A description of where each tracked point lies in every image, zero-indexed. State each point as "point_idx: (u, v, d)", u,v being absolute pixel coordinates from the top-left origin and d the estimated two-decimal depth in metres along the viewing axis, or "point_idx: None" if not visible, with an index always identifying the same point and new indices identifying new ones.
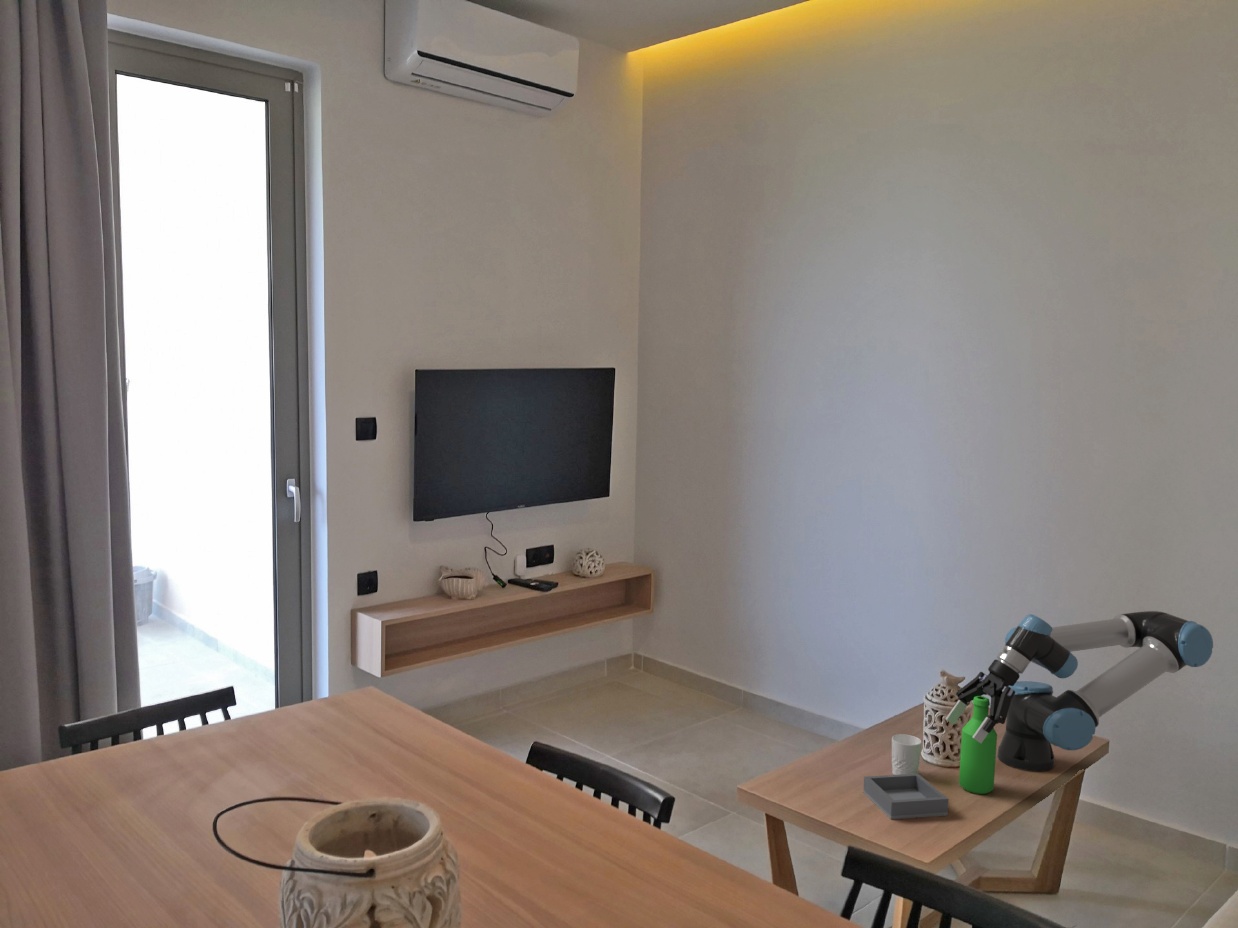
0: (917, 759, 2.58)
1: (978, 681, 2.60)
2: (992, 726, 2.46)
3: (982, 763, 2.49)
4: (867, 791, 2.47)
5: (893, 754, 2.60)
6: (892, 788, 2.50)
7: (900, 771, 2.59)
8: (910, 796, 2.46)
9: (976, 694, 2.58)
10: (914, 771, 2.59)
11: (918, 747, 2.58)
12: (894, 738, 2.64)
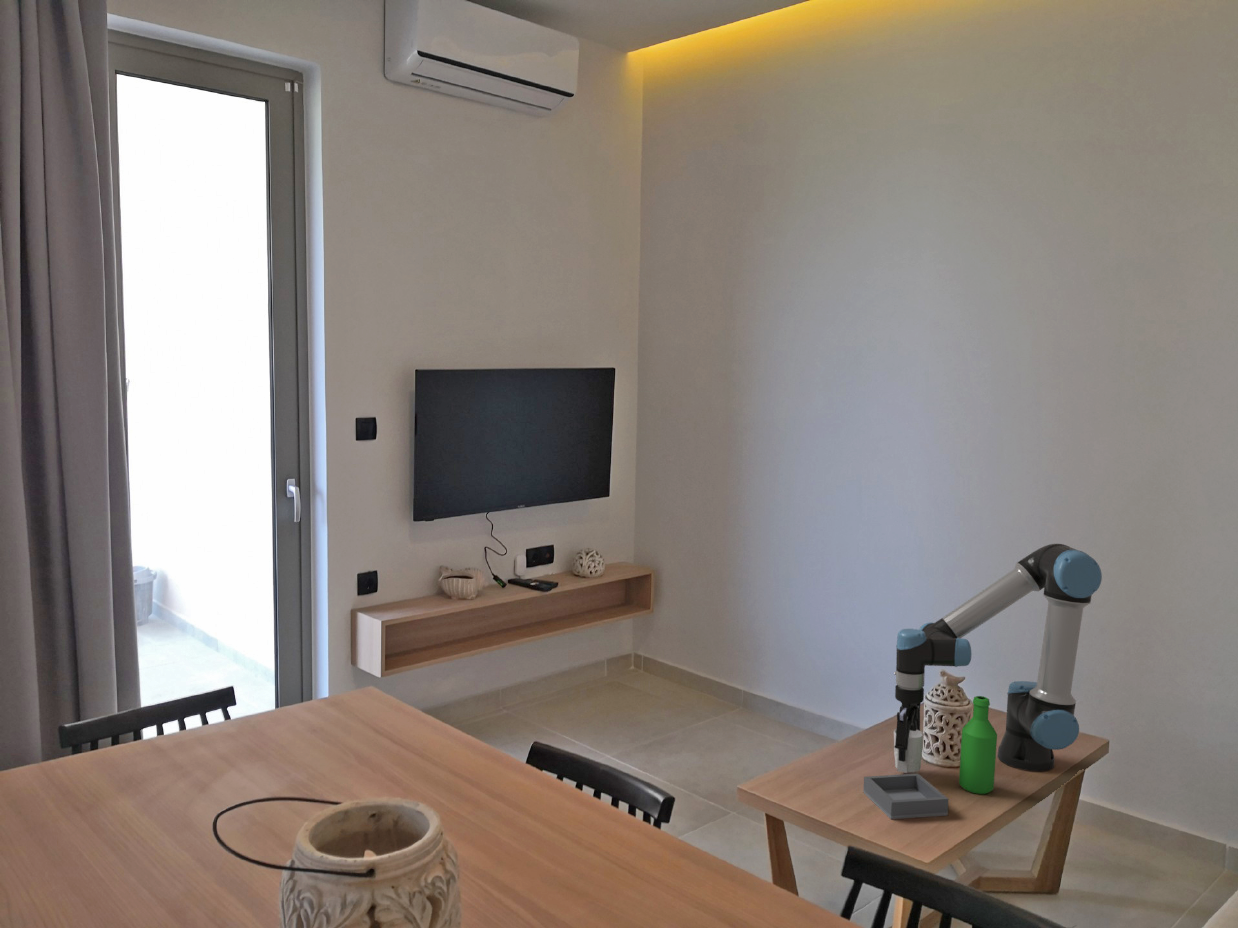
0: (919, 752, 2.58)
1: None
2: (902, 754, 2.56)
3: (982, 763, 2.49)
4: (867, 791, 2.47)
5: None
6: (892, 788, 2.50)
7: None
8: (910, 796, 2.46)
9: (911, 723, 2.63)
10: (917, 764, 2.58)
11: (920, 740, 2.58)
12: None
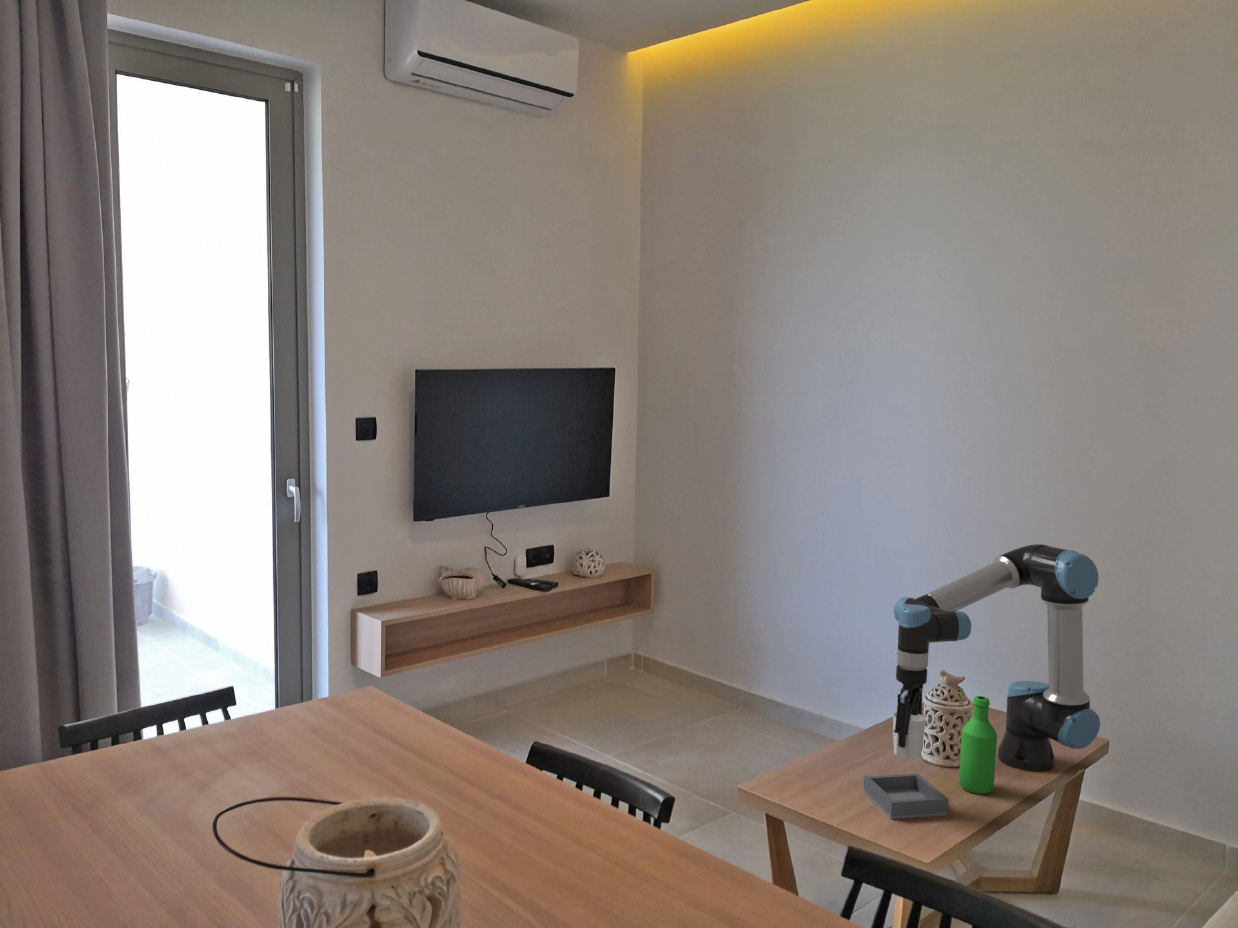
0: (921, 737, 2.39)
1: None
2: (902, 740, 2.37)
3: (982, 763, 2.49)
4: (867, 791, 2.47)
5: None
6: (892, 788, 2.50)
7: None
8: (910, 796, 2.46)
9: (913, 707, 2.43)
10: (917, 750, 2.39)
11: (922, 724, 2.38)
12: None
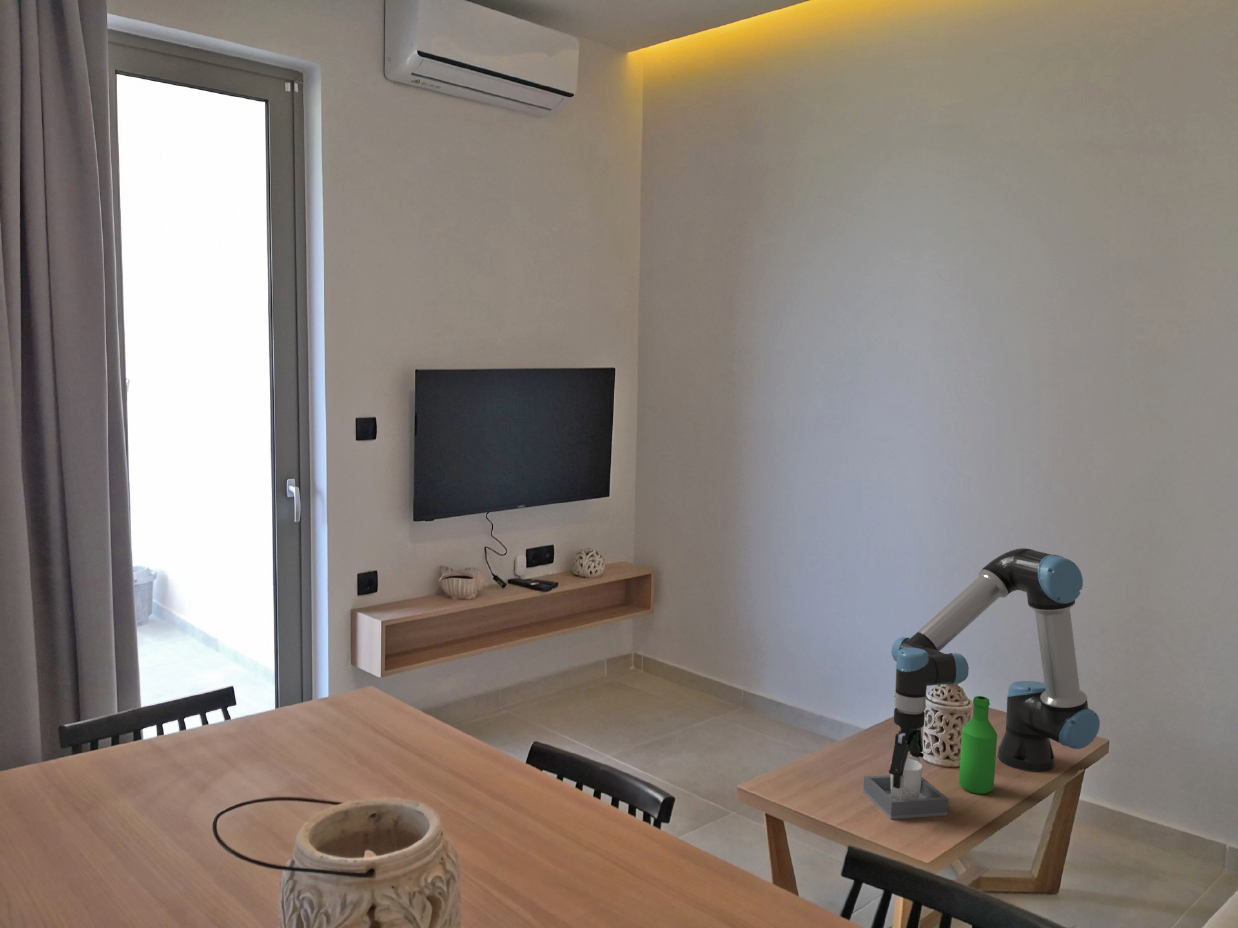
0: (918, 786, 2.39)
1: None
2: (897, 780, 2.36)
3: (982, 763, 2.49)
4: (867, 791, 2.47)
5: None
6: None
7: None
8: None
9: (912, 745, 2.46)
10: (915, 798, 2.40)
11: (919, 773, 2.39)
12: None
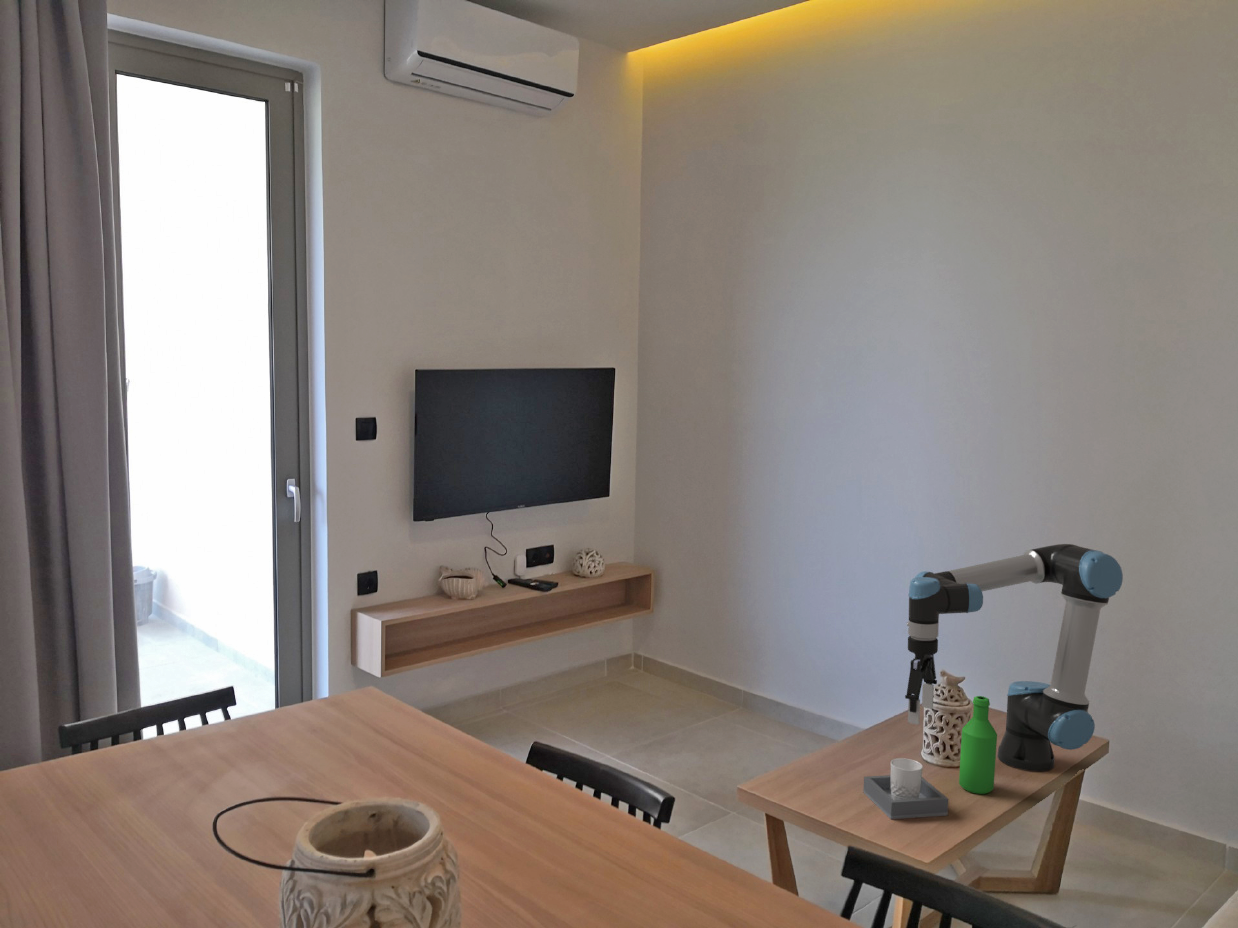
0: (918, 785, 2.39)
1: None
2: (913, 705, 2.42)
3: (982, 763, 2.49)
4: (867, 791, 2.47)
5: (892, 780, 2.41)
6: None
7: (899, 798, 2.40)
8: None
9: (926, 672, 2.52)
10: (915, 798, 2.40)
11: (919, 773, 2.39)
12: (893, 762, 2.44)
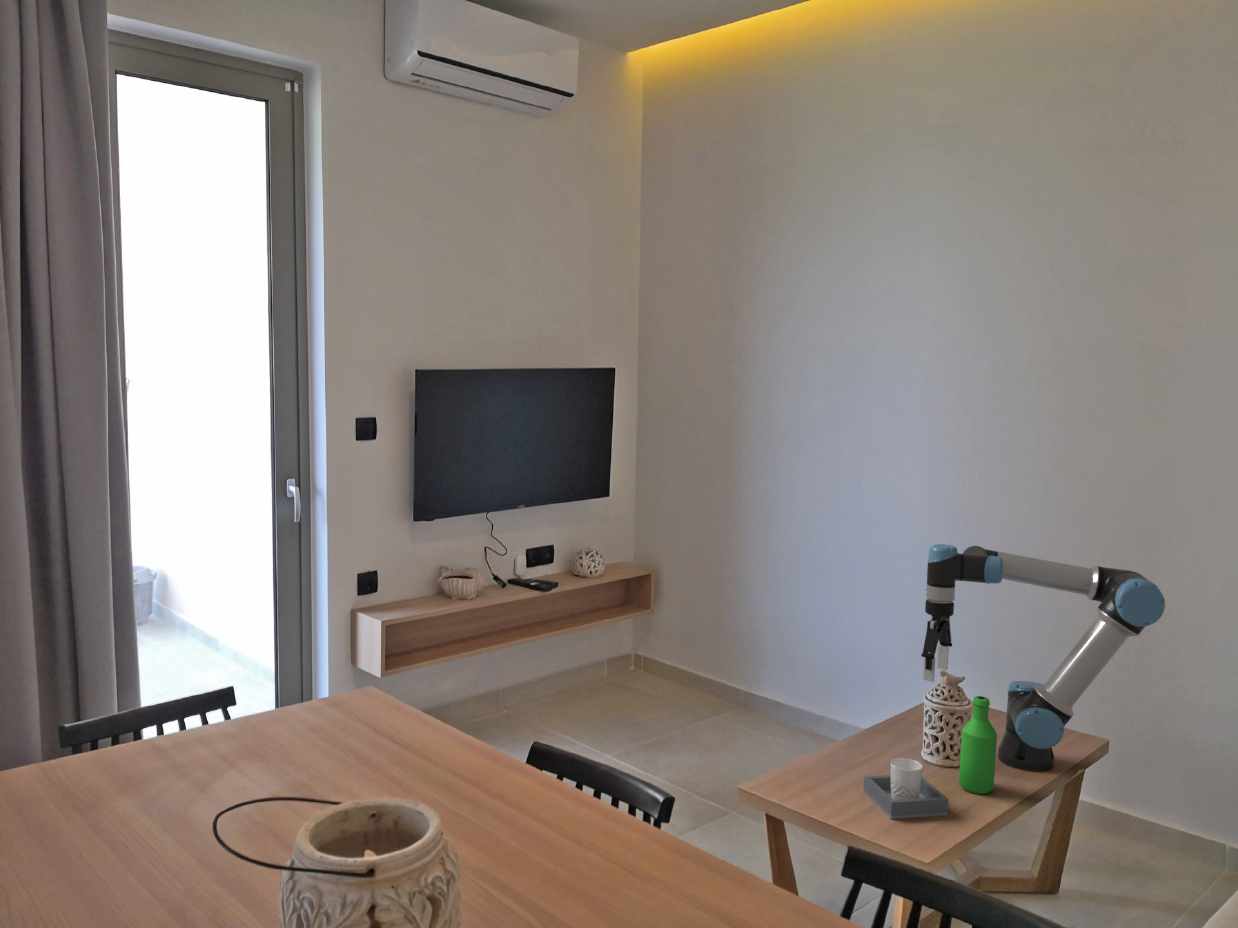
0: (918, 785, 2.39)
1: None
2: (929, 663, 2.58)
3: (982, 763, 2.49)
4: (867, 791, 2.47)
5: (892, 780, 2.41)
6: None
7: (899, 798, 2.40)
8: None
9: (942, 635, 2.68)
10: (915, 798, 2.40)
11: (919, 773, 2.39)
12: (893, 762, 2.44)
